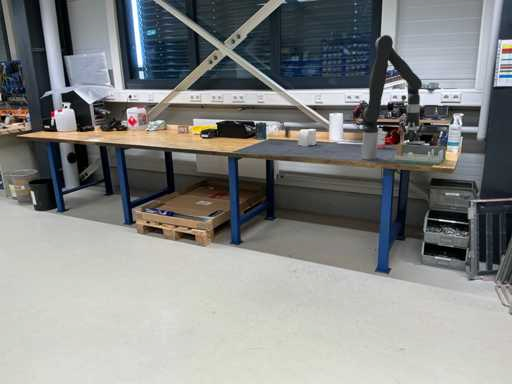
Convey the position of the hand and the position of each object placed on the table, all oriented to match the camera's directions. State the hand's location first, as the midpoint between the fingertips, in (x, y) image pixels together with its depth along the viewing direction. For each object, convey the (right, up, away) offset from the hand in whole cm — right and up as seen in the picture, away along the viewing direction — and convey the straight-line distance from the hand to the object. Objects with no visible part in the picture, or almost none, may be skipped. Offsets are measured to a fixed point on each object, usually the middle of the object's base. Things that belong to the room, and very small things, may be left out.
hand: (411, 138), depth 261 cm
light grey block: (-58, +3, +65) cm, 87 cm away
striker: (-2, -11, -2) cm, 12 cm away
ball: (-4, -11, -8) cm, 14 cm away
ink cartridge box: (-9, -1, +41) cm, 42 cm away
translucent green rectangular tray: (+3, -14, -6) cm, 16 cm away
